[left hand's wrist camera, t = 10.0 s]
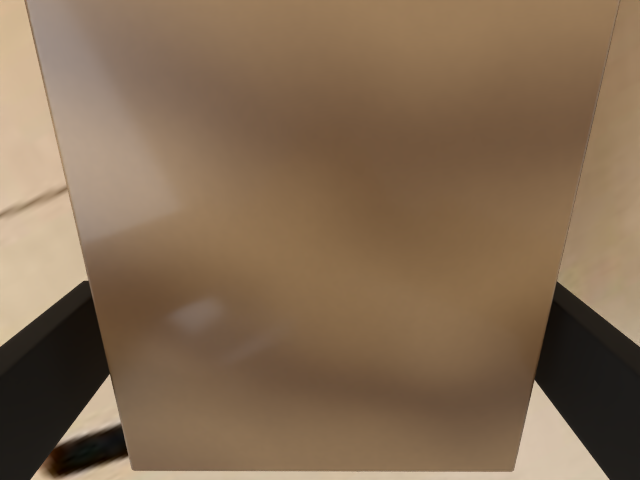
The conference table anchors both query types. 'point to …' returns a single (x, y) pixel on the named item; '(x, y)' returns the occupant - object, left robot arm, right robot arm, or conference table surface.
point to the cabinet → (322, 218)
